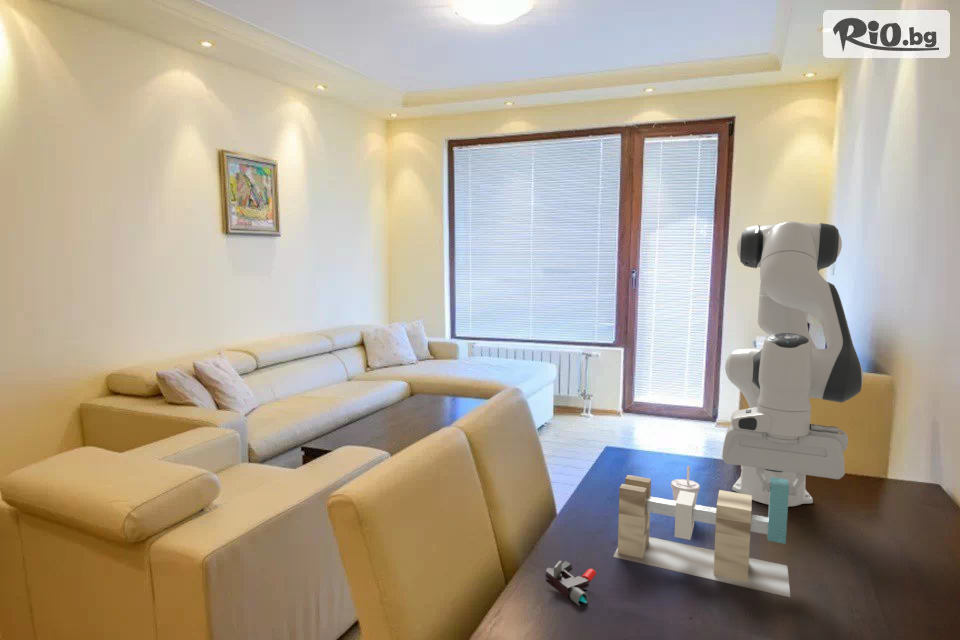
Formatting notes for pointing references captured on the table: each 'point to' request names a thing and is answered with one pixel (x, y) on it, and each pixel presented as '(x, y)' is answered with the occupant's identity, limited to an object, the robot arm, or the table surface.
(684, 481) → the smoothie
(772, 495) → the shaft
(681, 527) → the collar
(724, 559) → the stand
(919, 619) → the table surface
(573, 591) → the toy gun
